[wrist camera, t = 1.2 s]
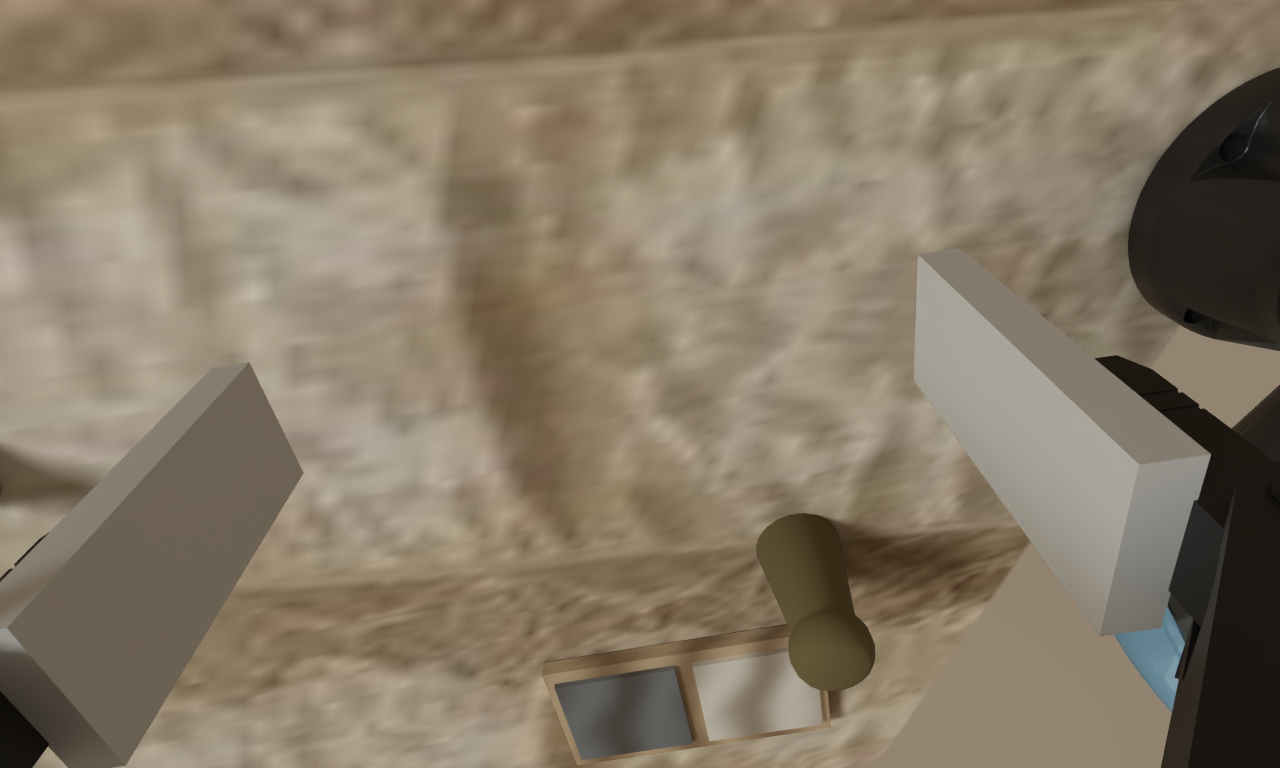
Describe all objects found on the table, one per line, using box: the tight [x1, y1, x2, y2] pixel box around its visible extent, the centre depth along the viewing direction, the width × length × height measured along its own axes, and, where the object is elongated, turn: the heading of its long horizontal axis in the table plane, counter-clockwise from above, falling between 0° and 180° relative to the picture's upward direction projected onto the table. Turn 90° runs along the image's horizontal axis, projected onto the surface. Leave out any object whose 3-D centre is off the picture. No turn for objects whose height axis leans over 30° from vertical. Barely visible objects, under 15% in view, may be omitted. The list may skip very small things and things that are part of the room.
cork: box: [756, 513, 875, 691], centre depth 48 cm, size 6×6×11 cm
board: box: [542, 624, 831, 765], centre depth 60 cm, size 22×12×2 cm, turn 101°
